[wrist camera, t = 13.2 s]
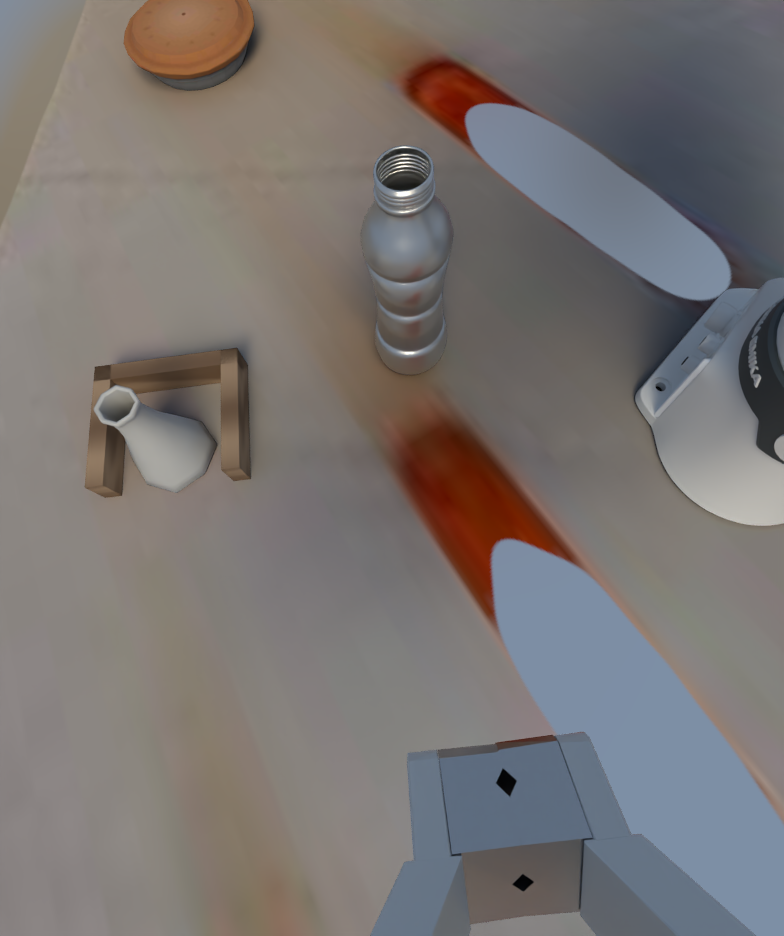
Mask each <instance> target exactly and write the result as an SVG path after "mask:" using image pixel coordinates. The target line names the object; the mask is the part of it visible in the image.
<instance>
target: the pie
mask: <svg viewBox="0 0 784 936" xmlns="http://www.w3.org/2000/svg"><path fill="white" fill-rule="evenodd" d="M253 28H254V18H253V11H252V9H251V7H250V5H249V2H248V0H148V1H147V2H146V3H145V4H144V5H143V6H142V7H141V8H140V9H139V10H138V11H137V12H136V13H135V14H134V15H133V16H132V17H131V19H130V21H129V23H128V26H127V28H126V30H125V36H124V45H125V48H126V50H127V53H128V55H129V56H130V57H131V59H132V60H133V61H134V62H135V63H136V64H137V65H138V66H139V67H141V68H143V69H144V70H146V71H148V72H150V73H152V74H153V75H154V76H156V77H157V78H158V79H160V80H161V81H162V82H164V83H165V84H167V85H169V86H171V87H173V88H176V89H181V90H187V91H188V90H202V89H206V88H210V87H214V86H216V85H218V84H220V83H222V82H224V81H226V80H227V79H229V78H230V77H231V76H232V75H234V74H235V73H236V72H237V70H238V69H239V68H240V66H241V65H242V63H243V60H244V57H245V54H246V50H247V45H248V41H249V39H250V36H251V33H252V31H253Z"/></svg>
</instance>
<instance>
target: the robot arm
mask: <svg viewBox="0 0 784 936" xmlns="http://www.w3.org/2000/svg"><path fill="white" fill-rule="evenodd" d="M656 386H658V387H660V388H661V389H662V391H658V390H657V389H656ZM635 401H636V404H637V406H638V408H639V410H640V411H641V413H642V414H643V416H644V417H645V419H646V420H647V421H648V423H649V424H650V425H651V427H652V430H653V433H654V437H655V441H656V446H657V450H658V453H659V456H660V459H661V461H662V463H663V465H664V467H665V469H666V471H667V473H668V474H669V476H670V477H671V479H672V480H673V481H674V483H675V484H676V485H677V486H678V487H679V488H680V489H681V491H682V492H683V493H684V494H686V495H687V496H688V497H689V498H690V499H691V500H693V501H694V502H695V503H697V504H698V505H699V506H701V507H702V508H704V509H706V510H707V511H709V512H711V513H713V514H715V515H717V516H720V517H722V518H725V519H727V520H731V521H734V522H738V523H742V524H748V525H759V526H767V525H777V524H783V523H784V277H783V278H775V279H771V280H769V281H767V282H766V283H764V284H763V286H762V287H761V288H760V289H751V288H734V289H728V290H726V291H724V292H723V293H722V294H721V295H720V296H719V297H718V298H717V299H716V300H715V301H714V302H713V303H712V305H711V306H710V307H709V308H708V309H707V310H706V312H705V313H704V314H703V315H702V316H701V317H700V319H699V320H698V321H697V322H696V323H695V324H694V326H693V327H692V328H691V329H690V330H689V332H688V333H687V334H686V335H685V336H684V337H683V339H682V340H681V341H680V342H679V343H678V344H677V346H676V347H675V348H674V349H673V350H672V351H671V353H670V354H669V355H668V356H667V357H666V359H665V360H664V361H663V362H662V363H661V364H660V366H659V367H658V368H657V369H656V370H655V371H654V373H653V374H652V375H651V376H650V377H649V378H648V380H647V381H646V382H645V383H644V384H643V385H642V387H641V388H640V389H639V390H638V392H637V393H636V396H635ZM438 755H439V759H438ZM439 764H440V766H439ZM407 770H408V784H409V798H410V812H411V827H412V841H413V855H414V860H413V861H407V862H404V864H403V866H402V869H401V871H400V873H399V875H398V877H397V879H396V881H395V884H394V886H393V888H392V890H391V892H390V894H389V896H388V899H387V901H386V903H385V905H384V907H383V909H382V911H381V914H380V916H379V918H378V920H377V922H376V924H375V926H374V929H373V931H372V933H371V935H370V936H469V933H470V930H471V928H470V925H471V924H477V923H484V922H491V921H497V920H504V919H511V918H517V917H525V916H536V915H548V914H560V913H572V912H580V916H581V917H582V918H583V919H584V921H585V922H586V923H587V924H588V926H589V927H590V928H591V929H592V931H593V932H594V933H595V934H596V936H756V935H755V934H754V933H752V932H751V931H750V930H749V929H748V928H747V927H746V926H745V925H743V924H742V923H741V922H740V921H739V920H738V919H737V918H735V917H734V916H733V915H732V914H731V913H730V912H729V911H728V910H727V909H725V908H724V907H723V906H722V905H721V904H720V903H719V902H717V901H716V900H715V899H714V898H713V897H712V896H711V895H709V893H707V892H706V891H705V890H704V889H703V888H702V887H701V886H700V885H698V884H697V883H696V882H695V881H694V880H693V879H692V878H690V877H689V876H688V875H687V874H686V873H685V872H684V871H683V870H681V869H680V868H679V867H678V866H677V865H676V864H675V863H674V862H672V861H671V860H670V859H669V858H668V857H667V856H666V855H665V854H663V853H662V852H661V851H660V850H659V849H658V848H657V847H656V846H654V845H653V844H652V843H651V842H650V841H649V840H648V839H647V838H645V837H644V836H643V835H642V834H633V835H631V832H630V830H629V828H628V825H627V823H626V821H625V818H624V816H623V814H622V811H621V809H620V807H619V804H618V802H617V800H616V798H615V795H614V793H613V791H612V788H611V786H610V784H609V781H608V779H607V777H606V774H605V772H604V770H603V767H602V765H601V763H600V760H599V758H598V756H597V753H596V751H595V749H594V747H593V744H592V742H591V740H590V738H589V737H588V736H587V734H586V733H585V732H577V733H571V734H564V735H557V736H553V735H548V736H541V737H533V738H526V739H519V740H512V741H505V742H498V743H495V744H489V745H480V746H470V747H460V748H450V749H441V750H438V753H437V750H429V751H421V752H413V753H408V757H407ZM440 771H441V774H440ZM441 779H442V781H441ZM442 787H443V788H442ZM443 794H444V795H443Z"/></svg>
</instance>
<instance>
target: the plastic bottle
mask: <svg viewBox="0 0 784 936" xmlns="http://www.w3.org/2000/svg"><path fill="white" fill-rule="evenodd" d="M373 176H374V198H375V201H374V202H373V204H372V205H371V207H370V208H369V210H368V212H367V214H366V215H365V218H364V222H363V226H362V230H361V246H362V250H363V254H364V258H365V261H366V264H367V266H368V269H369V272H370V275H371V278H372V281H373V284H374V289H375V294H376V299H377V322H376V328H375V344H376V348H377V351H378V353H379V355H380V357H381V359H382V361H383V362H384V364H385V365H386V366H387V367H388V368H390V369H391V370H393V371H395V372H397V373H400V374H405V375H415V374H420V373H423V372H425V371H427V370H429V369H430V368H432V367H433V366H434V365H435V364H436V363H437V362H438V361H439V359H440V358H441V356H442V353H443V351H444V348H445V346H446V341H447V329H446V322H445V318H444V315H443V305H442V292H443V284H444V275H445V271H446V267H447V264H448V260H449V256H450V252H451V247H452V241H453V226H452V223H451V219H450V216H449V213H448V211H447V209H446V207H445V206H444V204H443V203H442V202H441V201H440V200H439V199H438V198H437V197H436V195H435V181H434V166H433V162H432V159H431V157H430V156H429V155H428V154H427V153H426V152H425V151H424V150H422V149H420V148H418V147H414V146H398V147H394V148H391V149H389V150H387V151H385V152H384V153H383V154H382V155H381V156H380V157H379V158H378V159H377V161H376V163H375V166H374V172H373Z"/></svg>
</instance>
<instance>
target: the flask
mask: <svg viewBox="0 0 784 936" xmlns="http://www.w3.org/2000/svg"><path fill="white" fill-rule="evenodd" d="M93 410H94V412H95V413H96V415H97V416H98V418H99V420H100V421H101V422H102V423H103V424H107V425H110V426H114V427H115V428H117V429H118V430H119V431H120V432H121V434H122V435H123V436H124V438H125V441H126V443H127V446H128V449H129V452H130V454H131V457H132V460H133V462H134V463H135V465H136V466H137V468H138V470H139V471H140V473H141V475H142V476H143V478H144V480H145V481H146V483H147V484H148V485H151V486H154V487H158V488H161V489H165V490H168V491H172V492H175V493H177V492H179V491H180V490H182V489H183V488H185V487H186V486H188V485H189V484H191V483H192V482H194V481H195V480H196V479H198V478H199V477H201V476H202V475H204V474H205V472H206V470H207V467H208V465H209V463H210V460H211V458H212V456H213V453H214V451H215V448H216V446H217V444H216V442H215V441H214V439H213V438H212V437H211V435H210V434H209V432H208V431H207V429H206V428H205V426H204V425H203V423H202V422H200V421H196V420H193V419H189V418H185V417H181V416H177V415H173V414H169V413H164V412H159V411H156V410H154V409H152V408H150V407H148V406H146V405H144V404H142V403H141V402H140V400H139V399H138V397H137V395H136V394H135V392H134V391H133V390H132V389H131V388H127V387H123V386H119V385H115V386H113V387H112V388H110V389H108V390H107V391H105V392H104V393H102V394H101V395H100V397H99V399H98V401H97V403H96V405H95V407H94V409H93Z"/></svg>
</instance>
